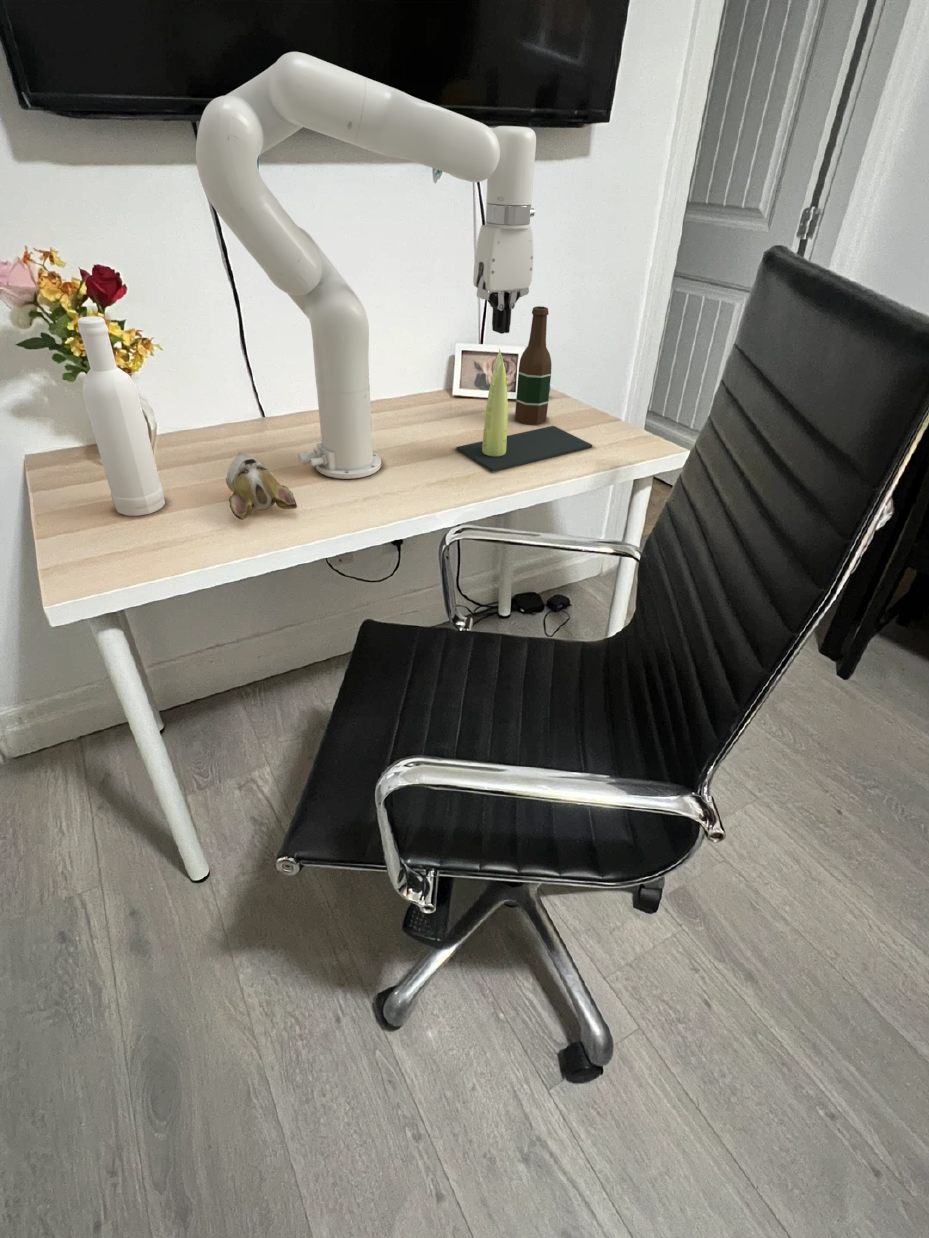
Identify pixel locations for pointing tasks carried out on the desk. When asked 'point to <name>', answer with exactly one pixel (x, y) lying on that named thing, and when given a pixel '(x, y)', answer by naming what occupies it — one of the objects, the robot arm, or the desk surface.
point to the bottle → (118, 425)
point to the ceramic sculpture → (255, 488)
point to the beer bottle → (534, 373)
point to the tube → (496, 412)
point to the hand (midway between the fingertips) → (500, 331)
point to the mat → (527, 448)
